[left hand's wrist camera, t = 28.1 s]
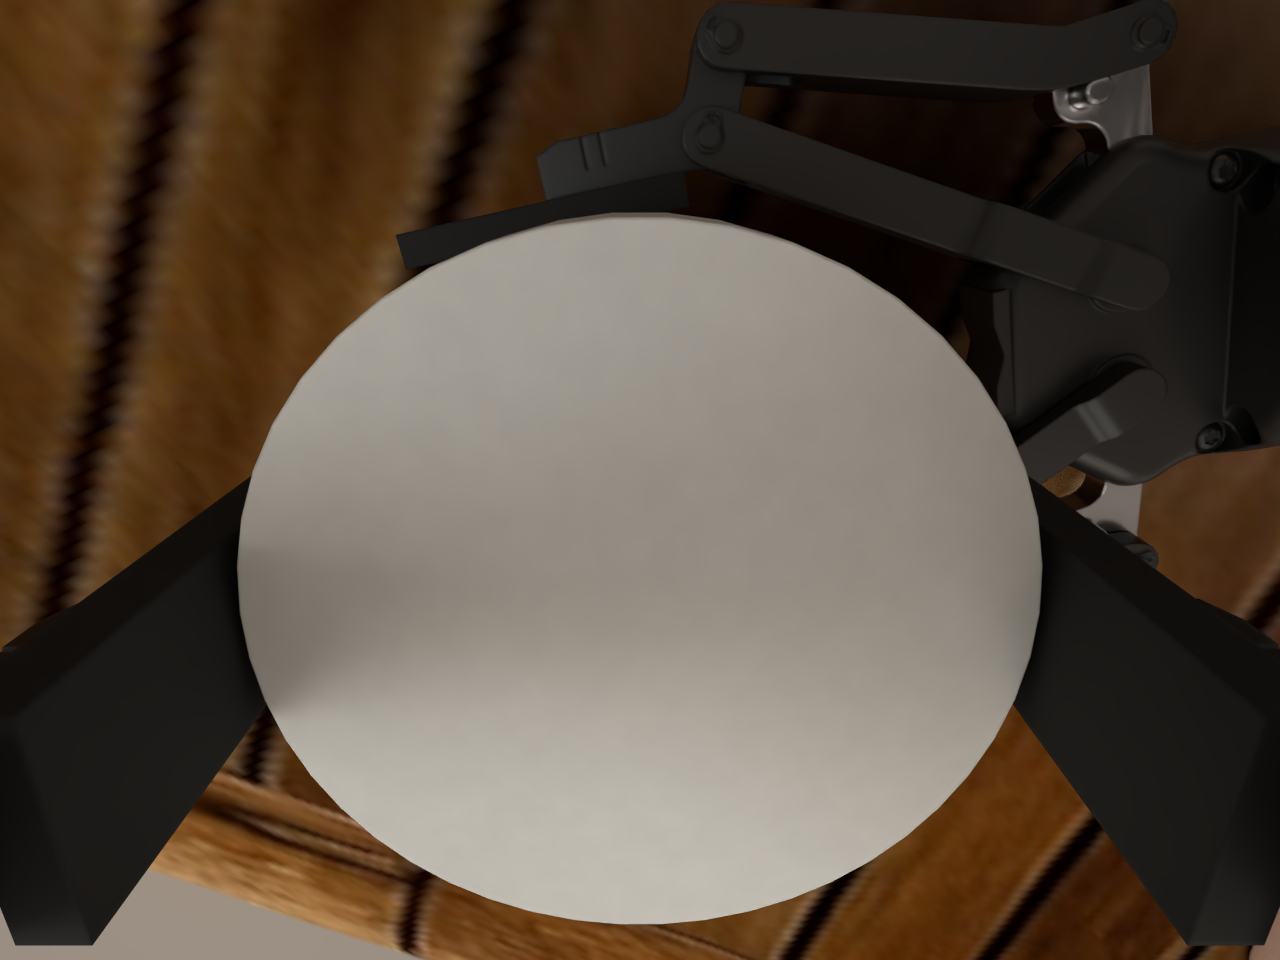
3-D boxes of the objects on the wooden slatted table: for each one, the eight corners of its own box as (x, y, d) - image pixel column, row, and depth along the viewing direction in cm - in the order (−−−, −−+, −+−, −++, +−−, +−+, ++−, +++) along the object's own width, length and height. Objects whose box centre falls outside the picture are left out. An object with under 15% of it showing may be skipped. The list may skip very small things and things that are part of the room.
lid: (243, 750, 13) (187, 829, 11) (370, 89, 9) (314, 68, 8) (819, 898, 14) (842, 988, 13) (1123, 361, 11) (1209, 392, 9)
